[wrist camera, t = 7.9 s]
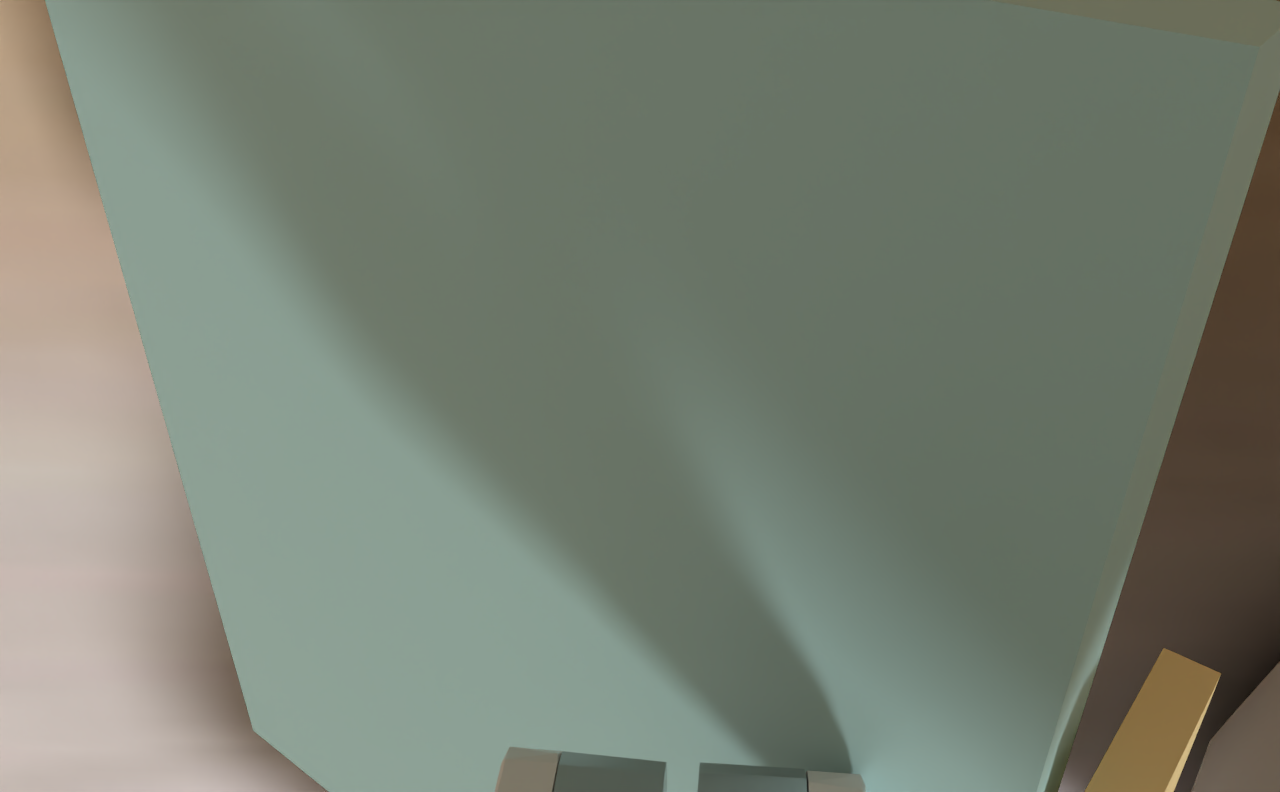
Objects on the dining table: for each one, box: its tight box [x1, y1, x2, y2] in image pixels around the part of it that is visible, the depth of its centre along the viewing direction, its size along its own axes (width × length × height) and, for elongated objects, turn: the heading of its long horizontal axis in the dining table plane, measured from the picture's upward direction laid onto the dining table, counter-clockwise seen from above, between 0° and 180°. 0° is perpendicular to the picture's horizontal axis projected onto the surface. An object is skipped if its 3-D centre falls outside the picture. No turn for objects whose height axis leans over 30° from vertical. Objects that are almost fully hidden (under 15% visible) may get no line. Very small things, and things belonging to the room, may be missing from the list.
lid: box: [45, 0, 1280, 792], centre depth 14 cm, size 14×15×2 cm
